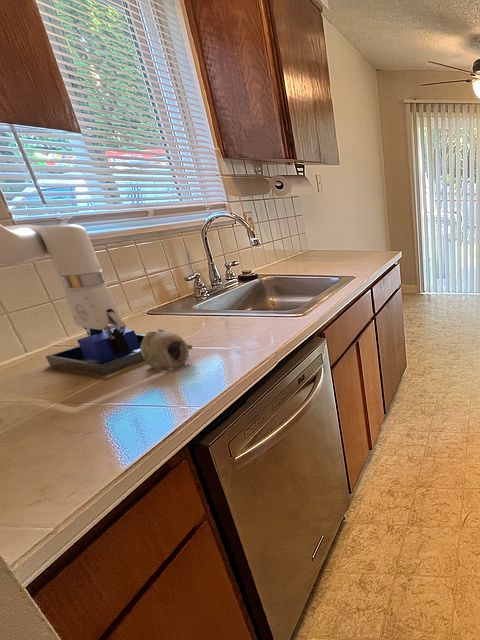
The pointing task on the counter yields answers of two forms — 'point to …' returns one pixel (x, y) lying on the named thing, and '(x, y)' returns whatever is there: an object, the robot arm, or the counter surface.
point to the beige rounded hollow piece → (164, 350)
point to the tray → (77, 361)
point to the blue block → (105, 345)
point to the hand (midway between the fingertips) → (112, 350)
